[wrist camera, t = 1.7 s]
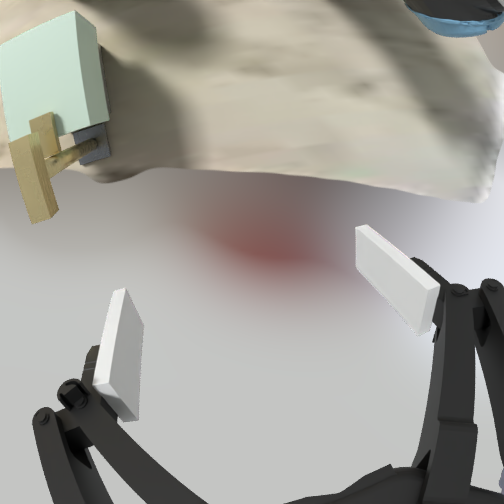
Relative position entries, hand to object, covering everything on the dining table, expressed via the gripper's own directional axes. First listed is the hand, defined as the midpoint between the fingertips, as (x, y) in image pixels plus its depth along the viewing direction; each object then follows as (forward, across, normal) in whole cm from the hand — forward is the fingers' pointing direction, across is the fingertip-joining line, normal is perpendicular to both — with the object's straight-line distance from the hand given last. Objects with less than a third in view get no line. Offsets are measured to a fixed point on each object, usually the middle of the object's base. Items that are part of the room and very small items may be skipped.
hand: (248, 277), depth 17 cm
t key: (+27, -14, +9) cm, 32 cm away
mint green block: (+22, -14, +16) cm, 31 cm away
